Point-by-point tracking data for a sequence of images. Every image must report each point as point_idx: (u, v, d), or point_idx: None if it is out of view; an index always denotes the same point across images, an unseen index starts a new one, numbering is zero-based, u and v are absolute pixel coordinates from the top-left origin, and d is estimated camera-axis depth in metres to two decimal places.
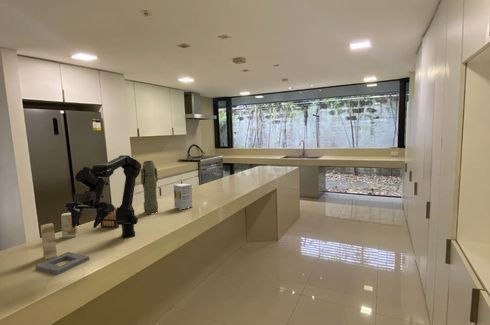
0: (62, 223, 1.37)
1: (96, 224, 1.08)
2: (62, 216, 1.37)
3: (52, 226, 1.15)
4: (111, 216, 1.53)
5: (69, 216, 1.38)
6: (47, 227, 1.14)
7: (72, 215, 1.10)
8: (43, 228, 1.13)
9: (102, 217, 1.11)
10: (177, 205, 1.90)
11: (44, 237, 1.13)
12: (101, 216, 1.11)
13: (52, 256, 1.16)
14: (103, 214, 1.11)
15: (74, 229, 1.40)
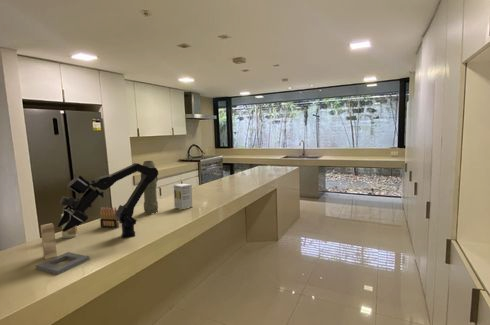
0: None
1: (65, 228, 1.16)
2: None
3: (52, 226, 1.15)
4: (111, 216, 1.53)
5: None
6: (47, 227, 1.14)
7: (62, 216, 1.24)
8: (43, 228, 1.13)
9: (74, 224, 1.17)
10: (177, 205, 1.90)
11: (44, 237, 1.13)
12: (73, 222, 1.17)
13: (52, 256, 1.16)
14: (76, 221, 1.18)
15: (74, 229, 1.40)
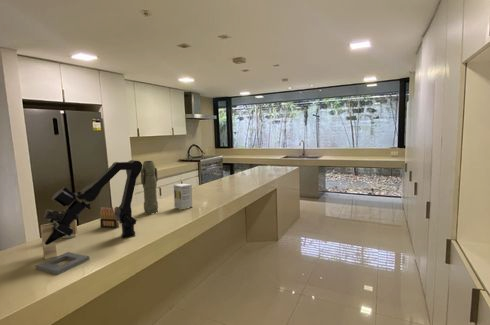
0: None
1: (48, 241, 1.14)
2: None
3: (52, 226, 1.15)
4: (111, 216, 1.53)
5: None
6: (47, 227, 1.14)
7: None
8: (43, 228, 1.13)
9: (57, 236, 1.15)
10: (177, 205, 1.90)
11: (44, 237, 1.13)
12: (56, 235, 1.15)
13: (52, 256, 1.16)
14: (59, 234, 1.16)
15: (74, 229, 1.40)
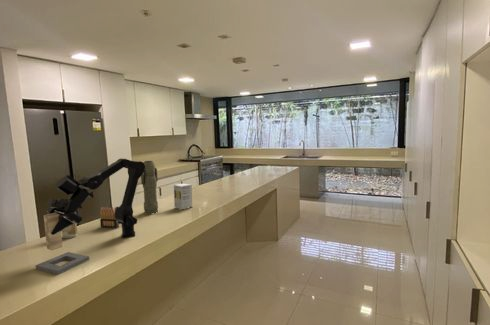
0: None
1: (55, 231, 1.09)
2: None
3: (58, 215, 1.10)
4: (111, 216, 1.53)
5: None
6: (53, 216, 1.09)
7: None
8: (49, 217, 1.08)
9: (64, 225, 1.11)
10: (177, 205, 1.90)
11: (50, 227, 1.08)
12: (63, 224, 1.11)
13: (58, 246, 1.11)
14: (66, 223, 1.12)
15: (74, 229, 1.40)
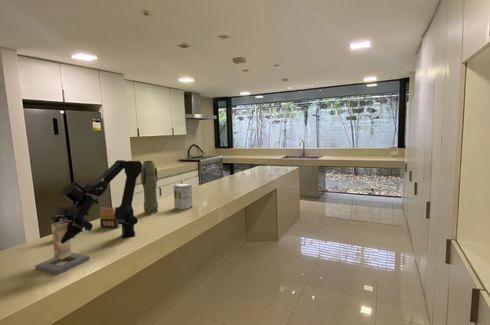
0: None
1: (64, 239, 1.07)
2: (62, 216, 1.37)
3: (66, 223, 1.08)
4: (111, 216, 1.53)
5: None
6: (62, 224, 1.07)
7: None
8: (59, 226, 1.06)
9: (73, 233, 1.09)
10: (177, 205, 1.90)
11: (60, 235, 1.06)
12: (72, 232, 1.09)
13: (67, 255, 1.09)
14: (75, 231, 1.10)
15: None
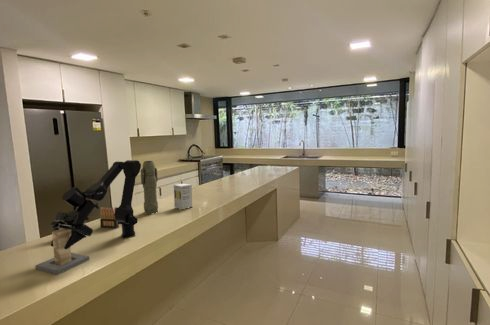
0: None
1: (68, 245, 1.06)
2: None
3: (67, 231, 1.09)
4: (111, 216, 1.53)
5: None
6: (63, 232, 1.07)
7: None
8: (59, 234, 1.06)
9: (76, 239, 1.09)
10: (177, 205, 1.90)
11: (60, 243, 1.06)
12: (75, 238, 1.09)
13: None
14: (78, 236, 1.10)
15: None
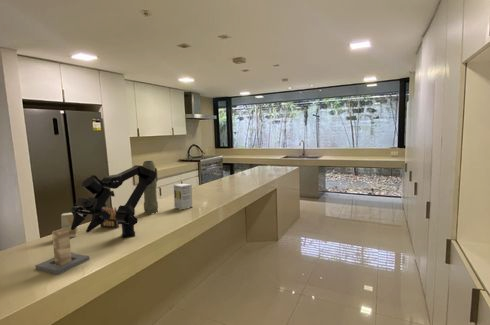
0: (62, 223, 1.37)
1: (89, 229, 1.14)
2: (62, 216, 1.37)
3: (67, 231, 1.09)
4: (111, 216, 1.53)
5: (69, 216, 1.38)
6: (63, 232, 1.07)
7: (74, 218, 1.19)
8: (59, 234, 1.06)
9: (97, 223, 1.17)
10: (177, 205, 1.90)
11: (60, 243, 1.06)
12: (96, 222, 1.16)
13: None
14: (98, 221, 1.17)
15: (74, 229, 1.40)
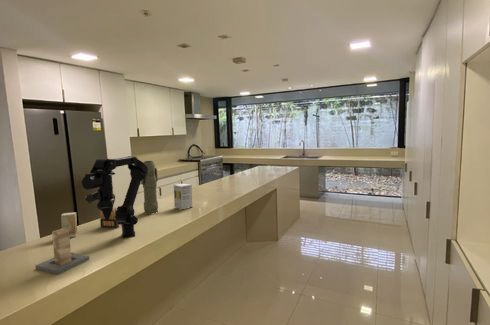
0: (62, 223, 1.37)
1: (106, 218, 1.22)
2: (62, 216, 1.37)
3: (67, 231, 1.09)
4: (111, 216, 1.53)
5: (69, 216, 1.38)
6: (63, 232, 1.07)
7: None
8: (59, 234, 1.06)
9: (109, 211, 1.22)
10: (177, 205, 1.90)
11: (60, 243, 1.06)
12: (107, 211, 1.22)
13: None
14: None
15: (74, 229, 1.40)
